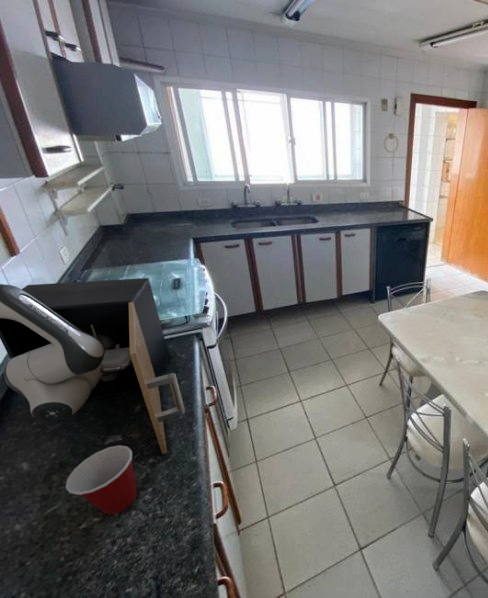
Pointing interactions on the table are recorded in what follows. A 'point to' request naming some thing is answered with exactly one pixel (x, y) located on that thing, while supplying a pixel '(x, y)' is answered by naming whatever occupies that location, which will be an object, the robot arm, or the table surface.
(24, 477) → the table surface
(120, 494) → the plastic cup
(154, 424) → the fridge door
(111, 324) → the box
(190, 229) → the table surface
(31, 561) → the table surface
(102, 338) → the beverage cup
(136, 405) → the table surface
